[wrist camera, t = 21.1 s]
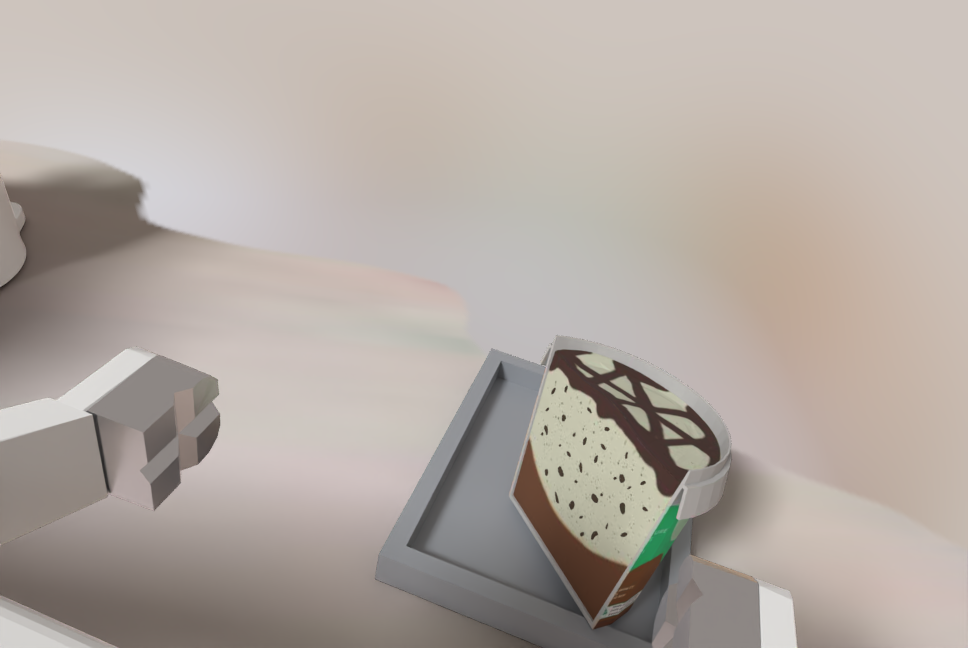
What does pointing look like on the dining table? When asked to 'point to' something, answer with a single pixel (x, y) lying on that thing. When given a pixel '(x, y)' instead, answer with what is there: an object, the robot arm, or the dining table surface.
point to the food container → (614, 470)
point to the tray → (501, 529)
